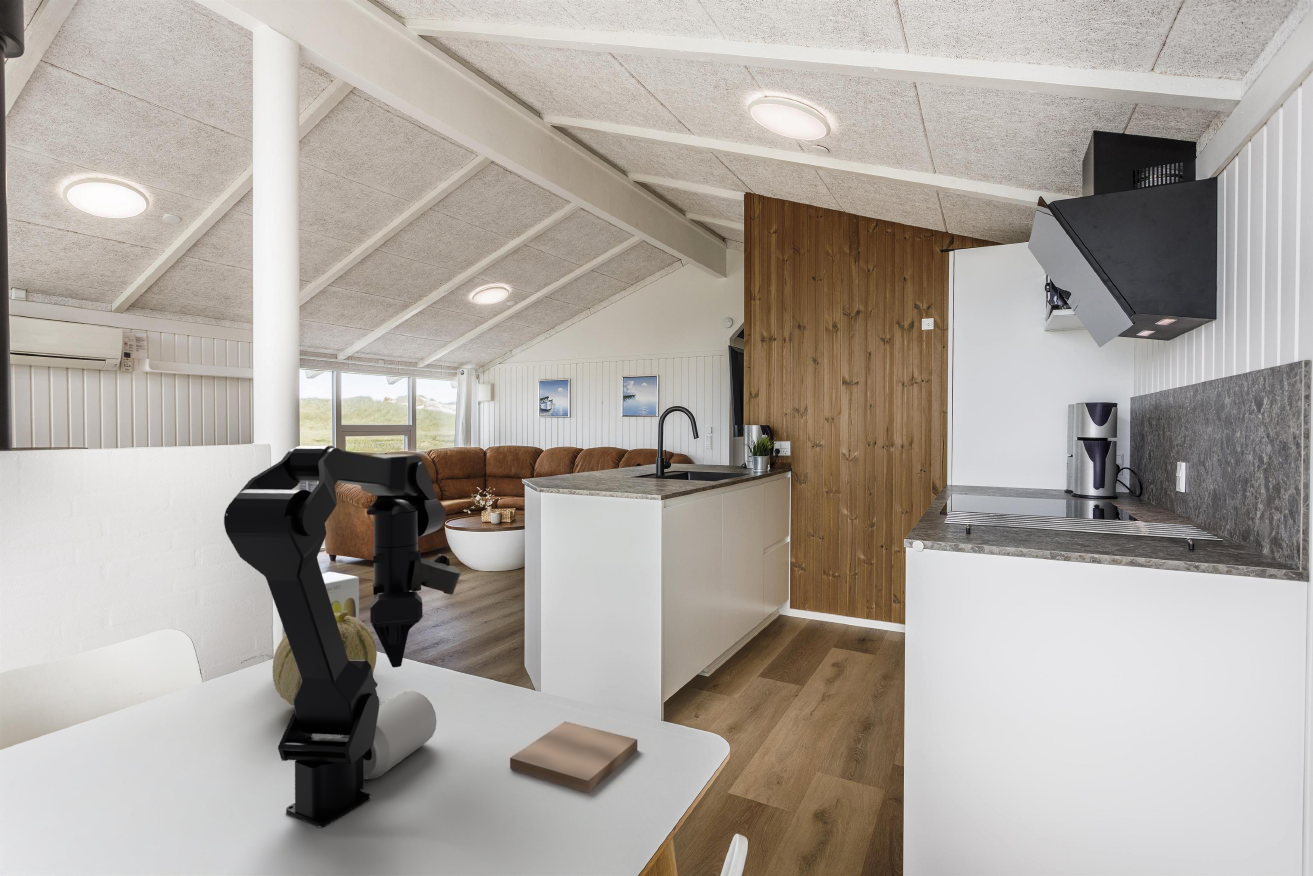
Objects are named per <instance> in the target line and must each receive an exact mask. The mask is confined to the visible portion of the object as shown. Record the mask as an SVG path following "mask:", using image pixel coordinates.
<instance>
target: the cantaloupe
mask: <svg viewBox="0 0 1313 876" xmlns="http://www.w3.org/2000/svg"><path fill="white" fill-rule="evenodd" d="M334 615H335V618H336V621H337V625H338V628H339V631H340V634H341V638H342V641H343V644H344V647H345V650H346V654H347V657H348V659H349V660H367V661H368V662H369V663H370V665H371V667H372V673H373V674H374V672H375V668H376V664H377V657H378V653H377V652H378V651H377V650H378V648H377V644H376V640H375V637H374V635H373V634H372V632H371V630H370V629H369V627H367V625H366V624H365V623H363V622H362V621H361V620H360V619H359V620H358V619H356V618H355V617H351V616H349V613H348V611H344V612H343V613H334ZM272 681H273V684H274V687H275V689H276V692H277V693H278V695H279V696H280V697H281V698H282V699H283V700H285V701H286V702H287V703H288V704H290V706H293V707H294V703H293V699H294V697H295V695H296V693H297V690H298V688H299V686H300V684H301V681H302V680H301V676H300V673H299V670H298V667H297V664H296V661H295V659H294V656H293V653H292V650H291V647H290V645H289V642H288V639H287V636H286V635H285V636H284V637H283V636H282V639H281V641H280V642H279V644H278V645H277V648H276V650H275V652H274V655H273V660H272Z"/></svg>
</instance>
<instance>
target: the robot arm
mask: <svg viewBox="0 0 1313 876" xmlns="http://www.w3.org/2000/svg"><path fill="white" fill-rule="evenodd" d="M431 479H432V478H431V477H430V474H429V470H428V468H427V465H426V464H425V463H424V462H423V458H422V457H421V456H420V455H418V454H411V453H410V454H405V453H404V454H400V453H399V454H398V453H397V454H393V453H389V454H383V453H382V454H381V453H380V454H379V453H378V454H377V453H376V454H366V453H360V452H354V451H349V450H344V449H340V448H338V447H335V446H333V445H297V446H296V447H293V448H291V449H289V450H288V451H287V452H286V454H285V455H284V456H283V457H282V459H280V461H278V462H276V463H275V464H273V465H271V466H270V467H269V468H266V469H265V470H263V471H262V472H260V473H259V474H257V475H255V476H254V477H252V478H250V479H249V480H248V481H247V483H246V484H245V485H244V486H243V487H242V489H241V490H240V491H239V492H238V493H237V494H236V495H235V497H234V498H233V499H232V500H231V501H230V503H228V505H227V507H226V509H225V512H224V515H223V526H224V530H225V533H226V536H227V538H228V539H229V541H230V543H231V544H232V546H233V547H234V550H235V551H236V553H237V555H238V556H239V558H240V559H242V560H243V561H244V562H246V563H247V564H248V565H250V567H252V569H253V568H254V569H255V570H256V571H258V572H259V573H260V574H261V575H263V576H264V578H265V580H266V582H267V585H268V589H269V592H270V594H271V596H272V599H273V601H274V605H275V607H276V611H277V613H278V617H279V619H280V621H281V624H282V629H283V628H284V630H285V633H286V636H287V639H288V642H289V645H290V647H291V650H292V653H293V656H294V659H295V661H296V664H297V667H298V670H299V673H300V676H301V680H302V681H301V684H300V686H299V688H298V690H297V693H296V695H295V697H294V699H293V703H294V706H293V707H294V710H293V713H292V715H291V717H290V719H289V721H288V723H287V726H286V728H285V729H284V732H283V735H282V737H281V739H280V741H279V744H278V747H277V750H278V752H279V753H278V754H279V755H280V756H279V757H280V760H281V761H284V762H287V761H294V803H291V804H290V805H288V806H286V808H285V813H286V814H287V815H290V816H293V817H294V818H296V819H297V818H298V819H300V820H302V821H305V822H307V823H309V824H311V825H314V826H317V827H320V828H323V827H326V826H328V825H330V824H331V823H332V822H334V821H336V820H338V819H339V818H341V817H343V816H345V815H346V814H348V813H350V812H351V811H353V810H354V809H356V808H358V807H360V806H361V805H363V804H365V803H367V802H369V800H371V794H370V793H368V792H367V791H363V789H364V781H365V780H364V777H363V754H364V753H365V752H366V751H367V750H369V749H370V748H371V747H372V746H373V743H374V737H375V731H376V725H377V718H378V712H379V706H380V698H379V695H378V692H377V689H376V688H378V682H377V681H376V680H375V677H374V672H373V673H372V667H371V665H370V663H369V662H368V661H367V660H349V659H348V657H347V654H346V650H345V647H344V644H343V641H342V638H341V634H340V631H339V628H338V625H337V621H336V618H335V615H334V612H333V609H332V605H331V602H330V599H329V596H328V592H327V589H326V586H325V583H324V579H323V576H322V573H323V572H322V570H321V567H320V564H319V559H318V555H319V553H320V551H321V549H322V547H323V544H324V541H325V539H326V536H327V529H326V522H327V521H328V519H329V518H330V516H331V514H332V513H334V510H335V509H336V507H337V506H338V505H337V504H338V500H337V495H336V493H337V492H336V487H335V486H336V485H337V484H346V485H347V484H348V485H353V486H354V485H355V486H359V487H360V489H361V490H362V491H363V492H364V493H365V492H366V493H368V494H371V495H373V496H374V497H376V499H375V501H374V502H373V503H372V504H370V505H369V506H368V508H367V510H366V515H368V516H373V555H372V557H373V558H372V559H373V561H372V562H373V582H372V585H373V586H372V591H373V593H372V594H373V599H372V600H371V602H370V608H369V611H370V614H369V615H370V616H369V618H370V620H369V621H370V624H371V627H372V628H373V629H374V632H375V634H376V636H377V638H378V640H379V642H380V644H381V646H382V648H383V651H384V652H385V655H386V657H387V659H388V661H389V663H390V665H391V667H392V668H400V667H402V664H403V660H404V654H405V649H406V646H407V642H408V637H409V633H410V630H411V629H412V628H413V627H414V626H415V625H416V624H418V623H420V622H421V620H422V618H423V617H424V616H423V613H424V612H423V610H424V609H423V600H422V597H421V596H420V594H418V592H419V591H422V587H425V588H427V589H428V588H429V589H432V590H436V591H439V592H440V591H441V592H442V593H443V594H445V595H450V596H451V595H454V594H455V590H456V588H457V584H458V582H459V579H460V576H461V571H460V569H459V568H458V567H456V566H455V565H451V562H450V557H449V556H448V555H445V554H441V553H438V554H437V555H436V556H435V557H434V558H433V559H430V558H428V559H425V558H422V555H421V554H422V553H421V550H420V549H419V540H418V539H419V538H420V537H423V536H426V535H429V534H431V533H434V532H436V531H438V530H440V529H441V528H442V526H444V523H445V521H446V517H447V516H446V515H447V513H446V510H445V507H444V505H443V503H442V502H441V501H440V500H439V499H437V493H436V490H435V487H434V486H433V482H432V480H431ZM301 482H318V483H317V484H316V486H315V487H314V489H313V490H312V491H310V490H307V489H295V488H296V487H297V486H298V485H299V484H300V483H301ZM313 735H326V736H327V735H329V736H330V735H331V736H333V735H334V736H341V735H349V739H344V738H339V737H320V736H319V737H318V736H313Z"/></svg>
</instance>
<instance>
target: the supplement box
mask: <svg viewBox="0 0 1313 876" xmlns="http://www.w3.org/2000/svg"><path fill="white" fill-rule="evenodd" d="M321 573H322V576H323V579H324V583H325V586H326V589H327V592H328V596H329V599H330V602H331V605H332V609H333V612H334V613H343V612H344V611H348V613H349V616H351V617H355V618H356V619H358V620H360V577H359V576H356V575H351V574H344V573H340V572H333V571H327V572H321ZM285 635H286V633H285V630H284V628H283V627H282V638H283V637H284V636H285Z"/></svg>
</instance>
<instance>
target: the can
mask: <svg viewBox="0 0 1313 876" xmlns="http://www.w3.org/2000/svg"><path fill="white" fill-rule="evenodd" d="M436 729H437V714H436V711H435V709H434V705H433V704H432V703H431V702H430V700H429V699H428V697H426V696H425V695H423V694H422V693H421V692H418V691H415V690H405V691H403V692H401V693H399V694H397V695H396V696H394V697H392V698H390V699H388V700H387V701H385V702H384V703H382V704H379V712H378V718H377V725H376V731H375V737H374V743H373V746H372V747H371V748H370V749H369V750H367V751H366V752H365V753H364V754H363V777H364V781H365V780H375V779H377V778H379V777H381V776H383V775H384V774H385V773H387V772H388V771H389V770H391V769H392V768H393V767H395V766H396V765H397V764H399V763H400V762H402V761H403V760H404V759H406V758H407V757H408V756H409V755H411V754H413V753H414V752H416V750H419V748H421V747H422V746H423V745H424V744H426V743H428V741H430V739H431V738H433V736H434V733H435V732H436ZM338 738H344V739H349V735H339V737H338Z"/></svg>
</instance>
